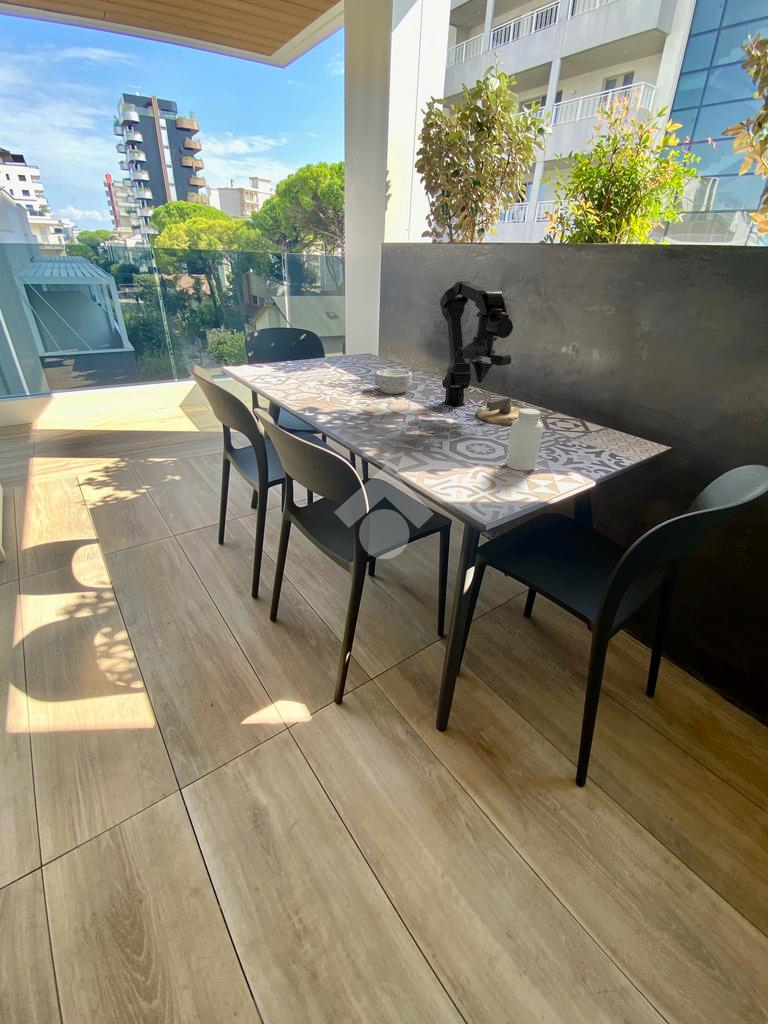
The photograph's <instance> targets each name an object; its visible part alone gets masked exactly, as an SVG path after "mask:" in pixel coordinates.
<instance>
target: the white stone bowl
mask: <svg viewBox="0 0 768 1024" xmlns="http://www.w3.org/2000/svg"><path fill="white" fill-rule="evenodd" d="M374 383H375V385H376V386H378V387H379V390H380V391H381V392H382V393H385V394H391V395H393V394H394V395H395V394H396V395H397V394H403V393H405V392H406V391H407V389H408V387H410V386H412V383H413V372H412V371H410V370H408V369H402V368H384V369H380V370H376V371H375V373H374Z"/></svg>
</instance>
